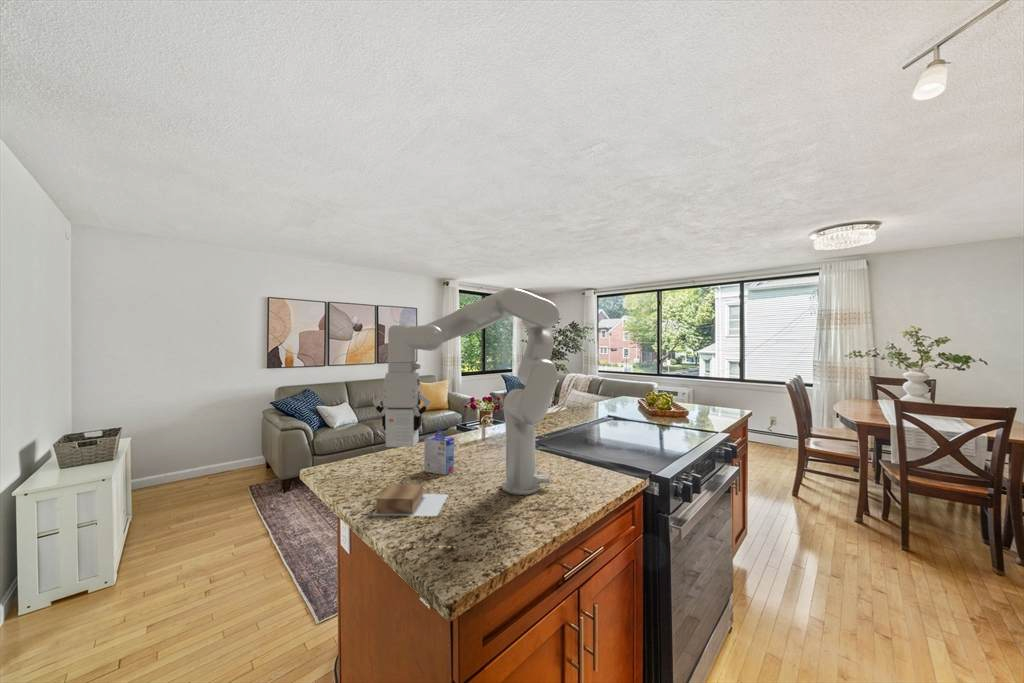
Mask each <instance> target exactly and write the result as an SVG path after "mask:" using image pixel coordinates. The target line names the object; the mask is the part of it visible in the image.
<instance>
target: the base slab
mask: <svg viewBox="0 0 1024 683" xmlns="http://www.w3.org/2000/svg"><path fill="white" fill-rule="evenodd" d="M423 494H424V484H407V483H406V484H401V483H399V484H397V483H395V484H393V483H392V484H391V483H390V484H389V485H387V487H386V488H385V489H384V490H383V491H382V492H381V493H380V494H379V495H378V496H377V497H376V499H375V500H376V501H375V502H376V509H377V513H405V514H413V512H414V511H415V509H416V508H417V506H418V505H419V503H420V502H421V500H422V499H423Z"/></svg>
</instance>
